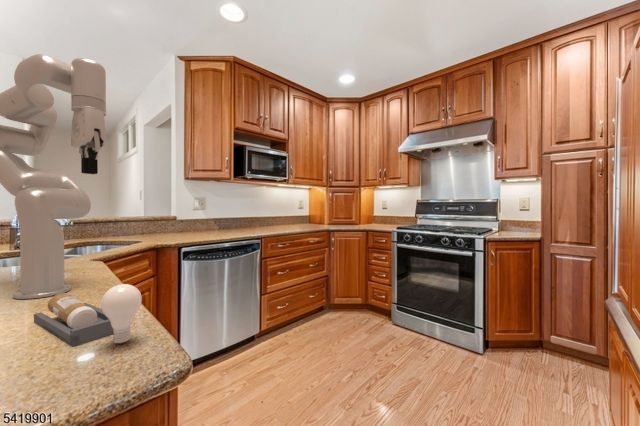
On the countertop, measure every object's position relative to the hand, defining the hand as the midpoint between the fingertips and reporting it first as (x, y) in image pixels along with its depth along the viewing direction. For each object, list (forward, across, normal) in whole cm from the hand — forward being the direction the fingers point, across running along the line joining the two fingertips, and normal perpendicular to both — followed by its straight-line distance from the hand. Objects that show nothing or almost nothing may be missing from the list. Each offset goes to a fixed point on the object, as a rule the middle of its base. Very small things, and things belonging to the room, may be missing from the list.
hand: (89, 173), depth 81 cm
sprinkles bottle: (+31, +13, -10) cm, 35 cm away
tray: (+35, +20, -9) cm, 41 cm away
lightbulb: (+35, +37, -8) cm, 52 cm away
